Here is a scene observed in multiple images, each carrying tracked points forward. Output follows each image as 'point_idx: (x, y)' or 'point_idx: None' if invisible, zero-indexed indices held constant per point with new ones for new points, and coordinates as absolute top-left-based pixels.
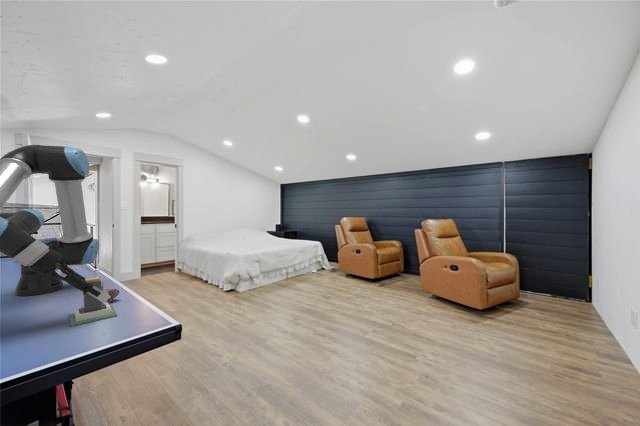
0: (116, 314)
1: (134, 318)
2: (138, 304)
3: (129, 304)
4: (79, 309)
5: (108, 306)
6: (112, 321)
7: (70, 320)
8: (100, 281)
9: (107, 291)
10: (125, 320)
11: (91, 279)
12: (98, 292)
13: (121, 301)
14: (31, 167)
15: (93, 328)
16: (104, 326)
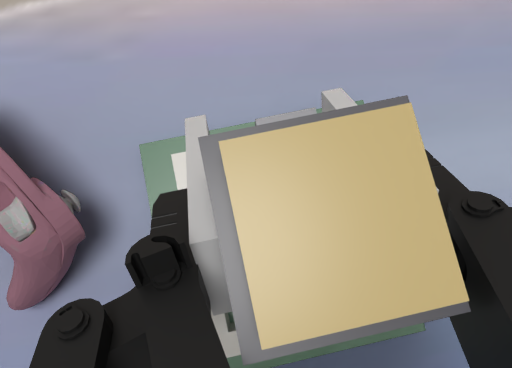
0: (358, 103)
1: (445, 19)
2: (181, 4)
3: (147, 52)
4: (227, 324)
5: None
6: (438, 121)
7: (337, 347)
8: (404, 103)
9: (1, 154)
10: (456, 60)
11: (415, 216)
12: (427, 155)
13: (37, 101)
14: None
15: (507, 201)
16: (502, 152)
